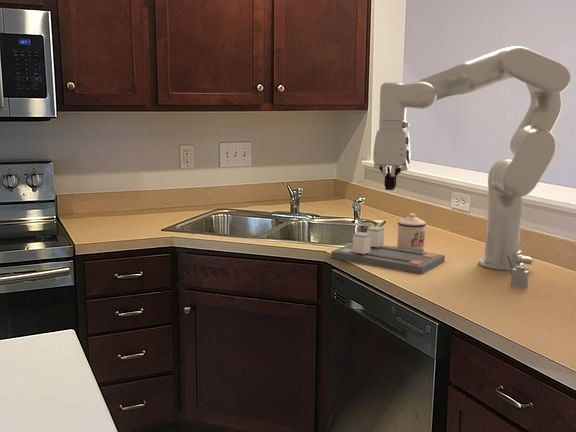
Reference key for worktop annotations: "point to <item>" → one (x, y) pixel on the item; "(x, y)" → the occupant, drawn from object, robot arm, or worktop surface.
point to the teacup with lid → (411, 233)
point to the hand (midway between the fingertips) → (390, 189)
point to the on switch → (376, 236)
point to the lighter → (516, 273)
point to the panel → (392, 258)
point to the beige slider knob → (361, 242)
